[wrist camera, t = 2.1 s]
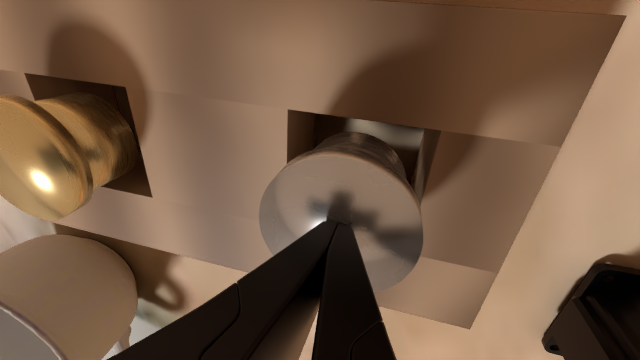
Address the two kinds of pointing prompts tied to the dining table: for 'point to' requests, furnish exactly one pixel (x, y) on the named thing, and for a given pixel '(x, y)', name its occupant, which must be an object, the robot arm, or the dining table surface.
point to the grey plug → (348, 203)
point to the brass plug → (60, 151)
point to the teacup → (64, 300)
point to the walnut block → (299, 115)
